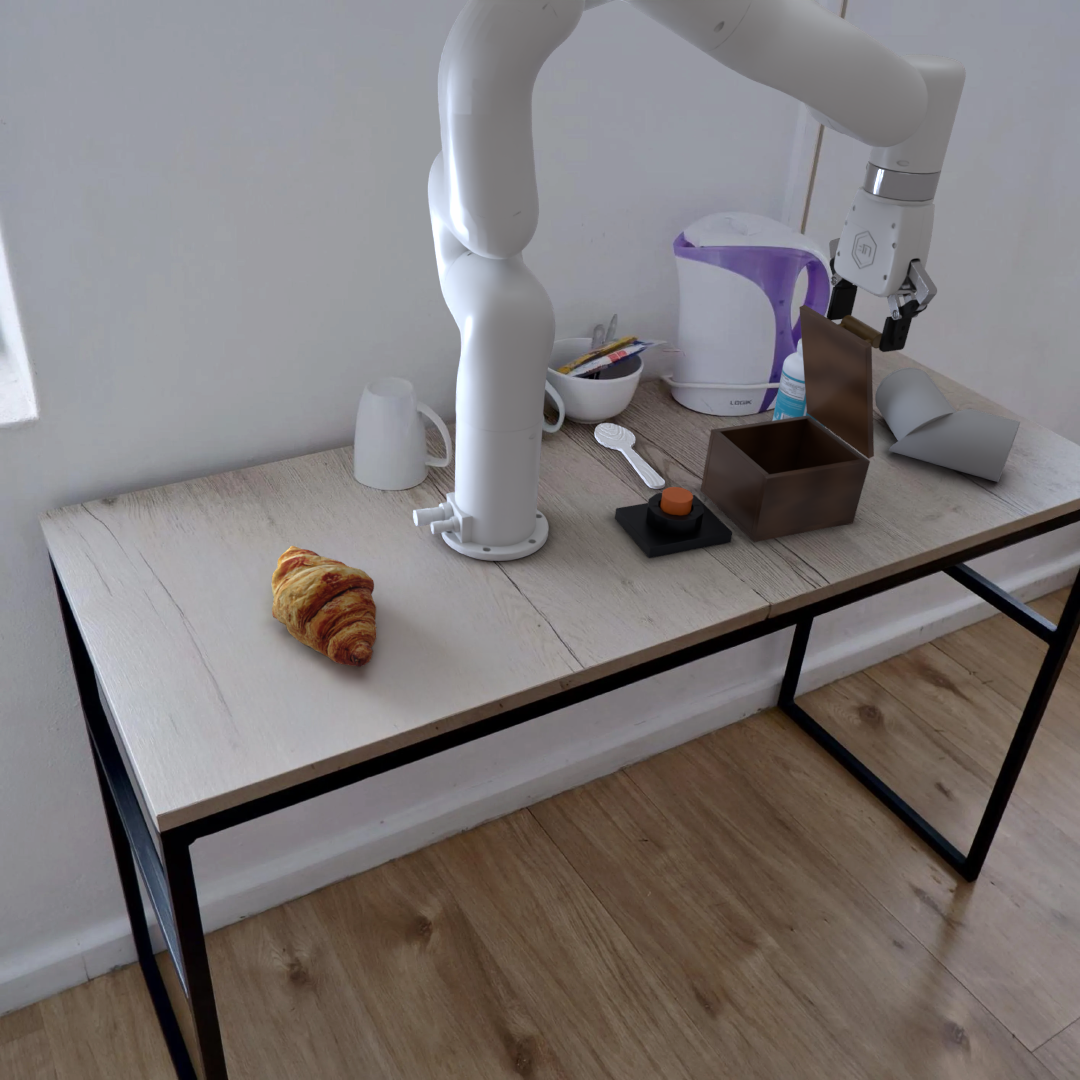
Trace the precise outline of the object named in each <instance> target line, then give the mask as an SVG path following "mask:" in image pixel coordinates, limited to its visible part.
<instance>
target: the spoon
mask: <svg viewBox="0 0 1080 1080" xmlns="http://www.w3.org/2000/svg"><path fill="white" fill-rule="evenodd" d="M594 439H595V440H596V441H597V442H598V443H599V444H600V445H601V446H603V447H605V448H608V449H611V450H615V451H616V450H617V451H619V452H621V454H622V455H623V456H624V457H625V458H626V460H627V461H628V462H629V464H630V465H631V467H632V468H633V469H634V470H635V472H636V473H637V474H638V476H639V477H640V478H641V479H642V481H643V482H644V483H645V485H646V486H648V488H651V489H654V490H660V489H663V488H665V486H666V481H665V479H664V478H662V476H660V475H659V473H658V472H656V470H654V469H653V467H651V466H650V464H648V462H646V461H645V460H644V459H643V458H642V457H641V456H640V454H638V453H637V452H636V451H635V450H634V449H633V448H634V446H635V445H636V436H635V435H634V433H633V432H632V431H631V430H629V429H627V428H626V427H623V426H622V425H619V424H615V423H613V422H612V423H611V422H601V423H598V424H597V426H595V429H594Z"/></svg>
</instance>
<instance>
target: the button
mask: <svg viewBox="0 0 1080 1080" xmlns="http://www.w3.org/2000/svg"><path fill="white" fill-rule="evenodd" d="M661 493H662V499H661V505H660V508H661V510H662V511H664V512H666V513H668V514H671V515H680V516H681V515H687V514H689V513H690V511H691V506H692V500H693V495H694V494H693V493H692V492H691V491H690V490H688V489H687V488H685V487H679V486H670V487H669V486H668V487H666V488H665V489H663V490H662V492H661Z"/></svg>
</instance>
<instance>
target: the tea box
mask: <svg viewBox="0 0 1080 1080" xmlns="http://www.w3.org/2000/svg"><path fill="white" fill-rule="evenodd" d="M772 420H773V419H772ZM772 420H768V421H761V422H754V423H747V424H740V425H733V426H727V427H720V428H713V429H711V430H710V432H709V433H710V434H709V439H708V446H707V450H706V457H705V463H704V468H703V474H702V481H701V486H700V492H701V493H702V494H704V495H705V496H706V497H707V498H708V499H709V501H711V502H712V503H713V504H714V505H715V506H716V507H717V508H718V510H720V511H721V512H722V513H723V514H724V515H725V516H726V517H727V518H728V519H729V520H730V521H731V522H732V523H733V524H734V525H735V526H737V528H738V529H739V530H740V531H741V532H743V534H744V535H746V537H748V539H750V540H751V541H752V542H753V543H758V542H762V541H768V540H773V539H778V538H784V537H789V536H793V535H799V534H805V533H808V532H813V531H818V530H823V529H829V528H834V527H840V526H844V525H849V524H850V525H851V524H853V523H854V521H855V517H856V513H857V510H858V507H859V504H860V499H861V495H862V492H863V490H864V486H865V481H866V477H867V475H868V472H869V467H870V463H871V460H869V459H868V458H867V457H866V456H864V455H863V454H862V453H860V452H859V451H858V450H856V449H855V448H853V447H852V446H851V445H849V444H848V443H847V442H845V441H844V440H843V439H841V438H840V437H839V436H837V435H836V434H835V433H833V432H832V431H831V430H829V429H828V428H827V427H823V426H822V425H821V424H819V423H818V422H817V421H815V420H814V419H813V418H811V417H810V416H809V415H807V416H801V417H794V418H787V419H780V420H773V421H772Z"/></svg>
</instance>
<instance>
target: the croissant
mask: <svg viewBox="0 0 1080 1080" xmlns="http://www.w3.org/2000/svg"><path fill="white" fill-rule="evenodd" d="M276 563H277V564H276V565H277V567H276V569H275V570H274V571H273V573H272V576H271V593H272V596H273V601H272V607H271V613H272V617H273V618H274V619H276V620H277V621H278V622H279V623H281V624H283V625H285V626H286V629H287V631H288V633H289V634H290V635H291V636H292V637H293V638H294V639H296V640H297V641H298V642H299V643H301V644H302V645H304V646H307V647H309V648H312V650H314V651H316V652H319V653H320V654H322V655H324V656H325V657H327V658H328V659H330V660H331V661H332V662H334V663H336V664H339V665H343V666H352V667H358V668H360V667H363V666H365V665H366V664H368V663H370V662H371V660H372V657H373V653H374V651H373V649H372V647H373V646H374V645H375V643H376V640H377V628H378V627H377V626H376V625H377V623H376V616H377V606H376V603H375V601H374V600H375V599H374V598H373V595H372V594H373V592H374V589H375V582H374V580H373V578H372V577H371V576H370V575H369V574H368V573H366V572H365V571H364V570H363V569H361V568H359V567H353V566H349V565H347V564H346V563H344V562H342V561H339V560H337V559H333V558H330V557H326V556H322V555H319V554H318V553H317V552H315V551H313V550H310V549H304V548H300V547H297V546H295V545H291V546H289V547H288V548H287V550H285V551H284V552H283V553H282V554H280V557H279V558H278V559H277V562H276Z"/></svg>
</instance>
